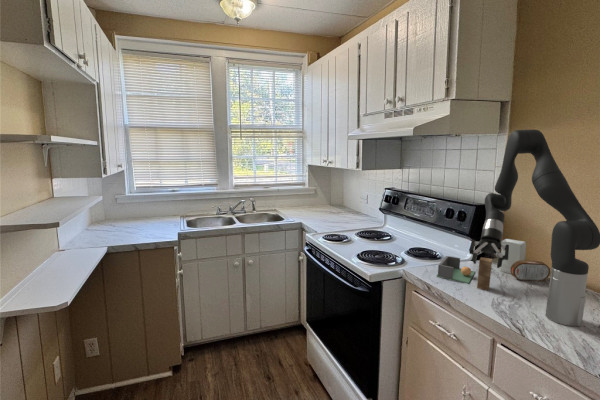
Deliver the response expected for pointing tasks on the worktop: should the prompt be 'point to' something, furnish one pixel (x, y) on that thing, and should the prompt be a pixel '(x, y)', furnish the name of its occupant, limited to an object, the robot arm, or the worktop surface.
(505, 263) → the skincare box
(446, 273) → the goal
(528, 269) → the tin
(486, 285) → the brown wooden block
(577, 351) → the worktop surface
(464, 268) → the ball
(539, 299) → the worktop surface
